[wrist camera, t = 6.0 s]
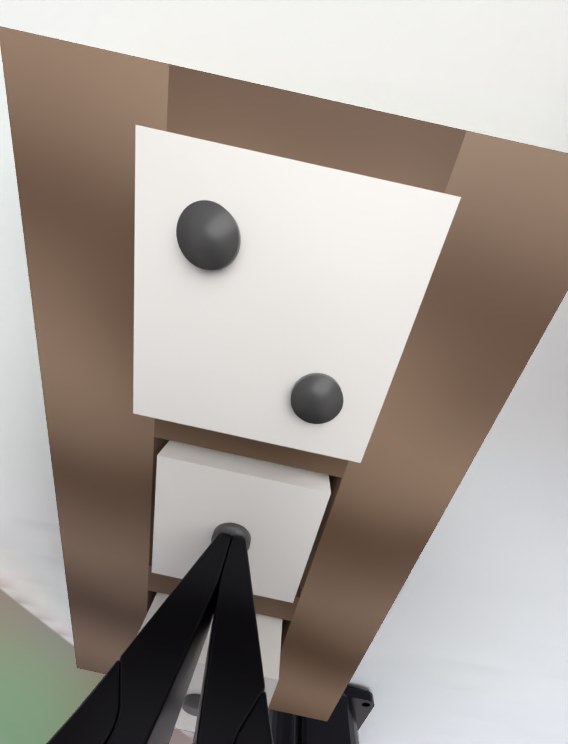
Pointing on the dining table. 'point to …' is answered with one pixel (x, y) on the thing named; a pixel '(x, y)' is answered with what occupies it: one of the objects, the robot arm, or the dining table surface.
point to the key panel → (149, 436)
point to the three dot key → (188, 715)
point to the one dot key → (236, 514)
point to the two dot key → (274, 291)
